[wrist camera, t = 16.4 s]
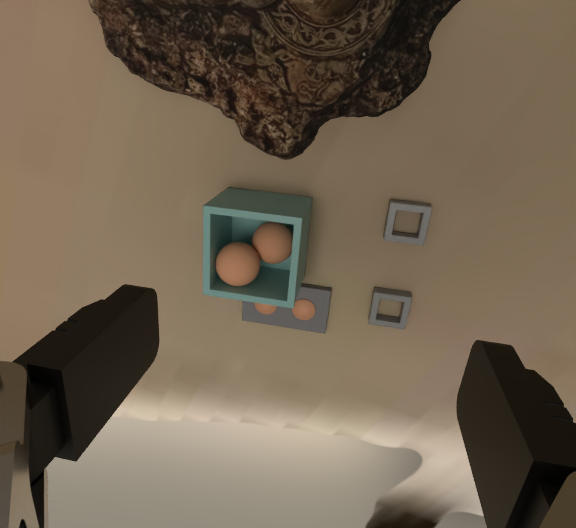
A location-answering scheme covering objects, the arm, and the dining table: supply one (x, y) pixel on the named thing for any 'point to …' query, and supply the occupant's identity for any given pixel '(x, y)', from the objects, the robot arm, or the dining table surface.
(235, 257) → the ball
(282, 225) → the ball
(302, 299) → the card
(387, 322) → the frame
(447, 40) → the dining table surface
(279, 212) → the teal open box
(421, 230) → the frame
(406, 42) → the stone relief
